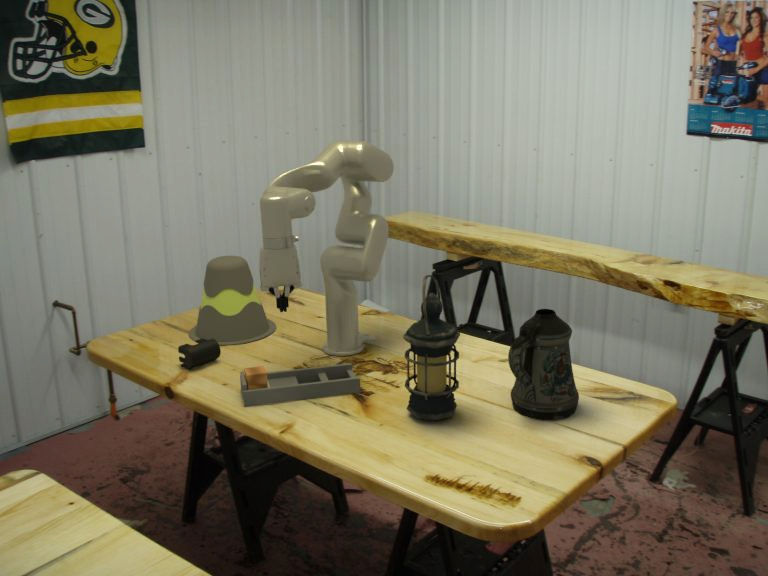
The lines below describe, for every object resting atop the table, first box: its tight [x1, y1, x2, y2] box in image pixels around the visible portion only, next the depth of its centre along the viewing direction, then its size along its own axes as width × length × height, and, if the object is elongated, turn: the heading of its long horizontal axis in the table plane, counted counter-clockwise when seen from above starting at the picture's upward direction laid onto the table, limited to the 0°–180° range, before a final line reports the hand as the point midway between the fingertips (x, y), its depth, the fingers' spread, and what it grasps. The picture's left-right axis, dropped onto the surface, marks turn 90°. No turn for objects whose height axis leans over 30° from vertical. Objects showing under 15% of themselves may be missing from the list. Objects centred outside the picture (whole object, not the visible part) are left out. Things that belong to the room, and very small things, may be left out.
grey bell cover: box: [188, 255, 277, 346], centre depth 250 cm, size 28×28×24 cm
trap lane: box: [239, 362, 361, 408], centre depth 205 cm, size 30×11×6 cm, turn 104°
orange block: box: [243, 365, 268, 390], centre depth 201 cm, size 5×5×5 cm
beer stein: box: [507, 308, 580, 421], centre depth 189 cm, size 16×19×25 cm
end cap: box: [177, 338, 222, 370], centre depth 225 cm, size 10×7×7 cm
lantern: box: [402, 274, 461, 421], centre depth 186 cm, size 14×13×35 cm
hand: (282, 310), depth 204 cm, fingers closed
